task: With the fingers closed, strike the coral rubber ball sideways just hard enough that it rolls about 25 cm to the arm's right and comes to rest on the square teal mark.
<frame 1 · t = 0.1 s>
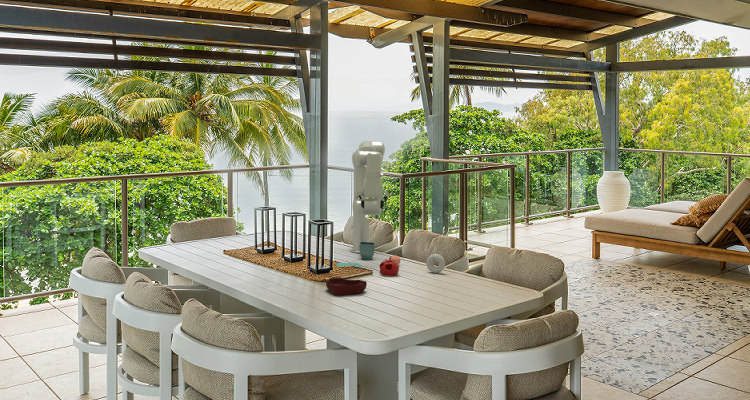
hand: (372, 208, 349), 31 cm above the table, tool pointing down, fingers open, 9 cm apart
ball: (395, 260, 356), on the table
flower pot: (366, 259, 374), on the table
dark red shallow dish: (343, 293, 293), on the table
pomegranate: (388, 275, 333), on the table
donut: (435, 273, 341), on the table
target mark: (348, 265, 353), on the table
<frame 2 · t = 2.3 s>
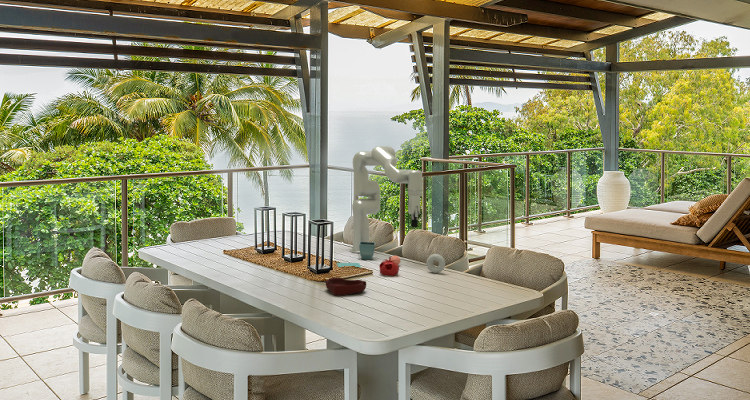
hand: (414, 226, 359), 21 cm above the table, tool pointing down, fingers closed
nothing on the table moved.
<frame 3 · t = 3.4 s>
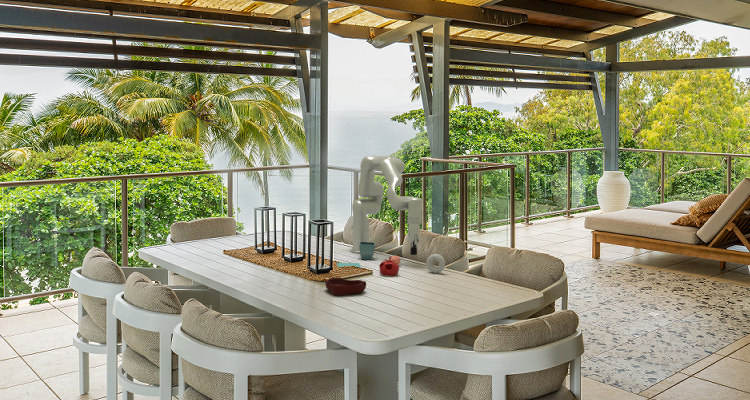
hand: (413, 254, 357), 6 cm above the table, tool pointing down, fingers closed
nothing on the table moved.
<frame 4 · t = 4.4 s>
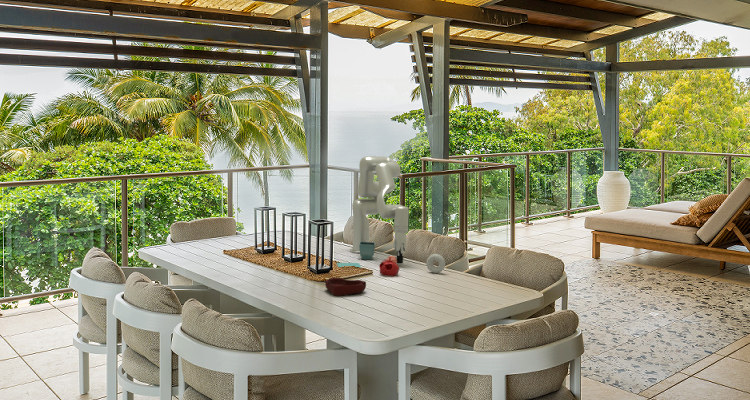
hand: (399, 263, 357), 2 cm above the table, tool pointing down, fingers closed
ball: (391, 260, 356), on the table
everything else where it was.
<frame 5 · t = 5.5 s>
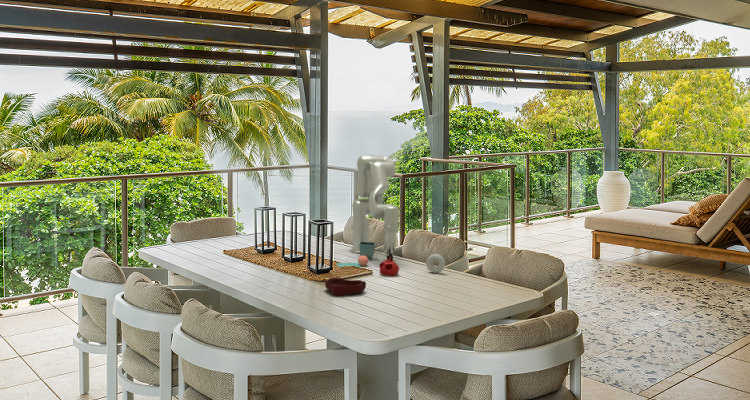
hand: (389, 263, 356), 2 cm above the table, tool pointing down, fingers closed
ball: (363, 260, 354), on the table
everything else where it was.
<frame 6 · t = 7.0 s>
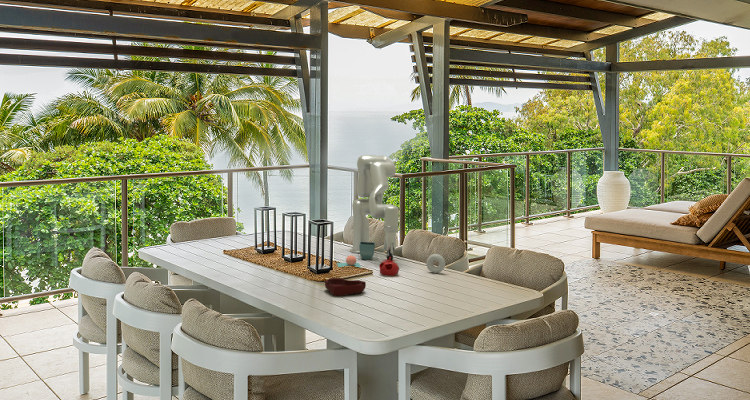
hand: (389, 263, 356), 2 cm above the table, tool pointing down, fingers closed
ball: (351, 260, 353), on the table
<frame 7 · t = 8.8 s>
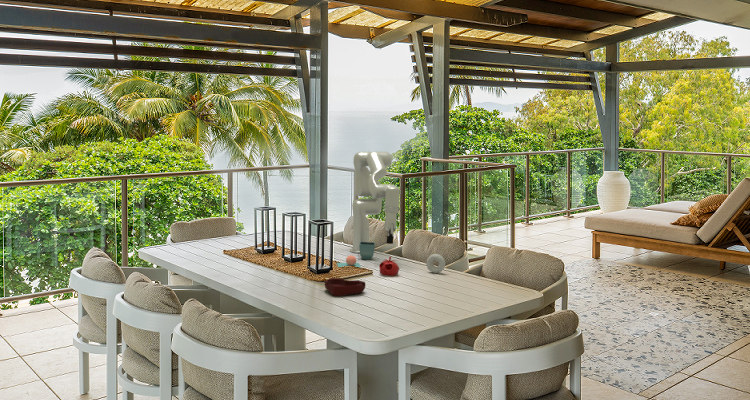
hand: (389, 243, 356), 12 cm above the table, tool pointing down, fingers closed
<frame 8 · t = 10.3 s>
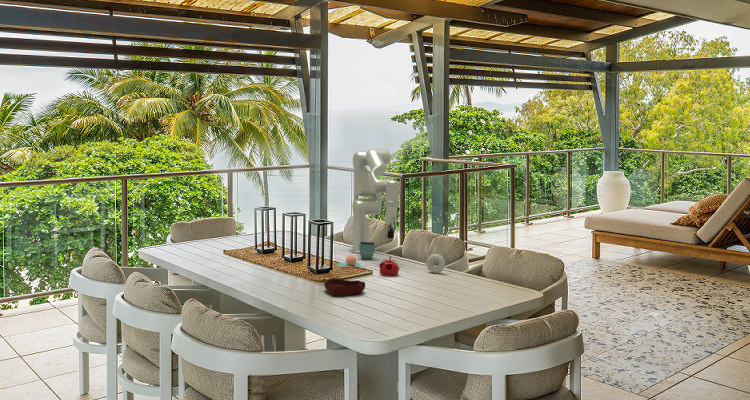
hand: (390, 237, 355), 15 cm above the table, tool pointing down, fingers closed
at the end: ball 1.3 cm from the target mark (horizontally); ball at rest at the end (0.0 cm/s); ball moved 23.8 cm from its start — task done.
